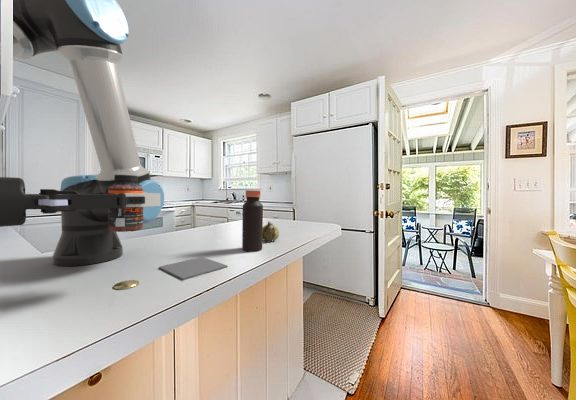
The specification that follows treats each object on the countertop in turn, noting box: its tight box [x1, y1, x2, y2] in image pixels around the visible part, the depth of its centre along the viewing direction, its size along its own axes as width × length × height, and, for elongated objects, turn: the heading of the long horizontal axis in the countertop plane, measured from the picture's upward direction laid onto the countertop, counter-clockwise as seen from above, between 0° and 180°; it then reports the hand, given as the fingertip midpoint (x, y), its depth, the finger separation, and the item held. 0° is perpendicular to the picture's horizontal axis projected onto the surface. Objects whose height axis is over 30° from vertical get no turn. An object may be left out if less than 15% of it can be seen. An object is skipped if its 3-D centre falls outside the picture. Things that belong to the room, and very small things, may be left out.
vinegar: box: [241, 190, 264, 252], centre depth 81 cm, size 7×7×20 cm
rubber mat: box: [158, 256, 228, 281], centre depth 61 cm, size 12×12×1 cm
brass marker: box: [112, 279, 140, 291], centre depth 50 cm, size 4×4×1 cm
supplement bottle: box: [108, 174, 144, 233], centre depth 49 cm, size 6×6×11 cm
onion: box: [262, 221, 280, 242], centre depth 95 cm, size 8×8×8 cm
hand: (152, 198), depth 53 cm, fingers closed on supplement bottle, 6 cm apart
